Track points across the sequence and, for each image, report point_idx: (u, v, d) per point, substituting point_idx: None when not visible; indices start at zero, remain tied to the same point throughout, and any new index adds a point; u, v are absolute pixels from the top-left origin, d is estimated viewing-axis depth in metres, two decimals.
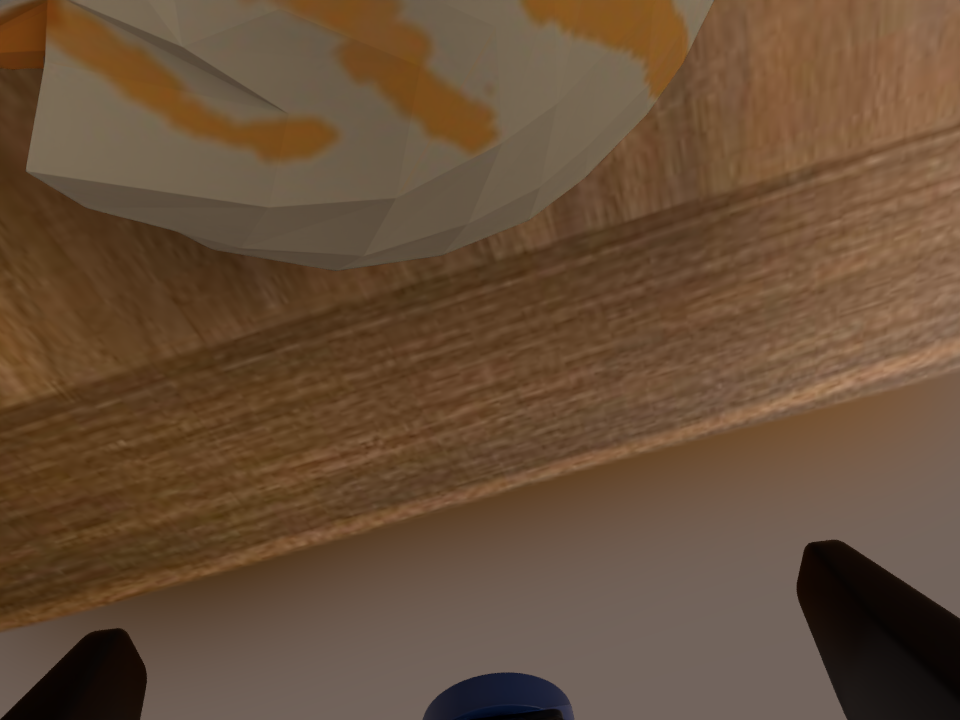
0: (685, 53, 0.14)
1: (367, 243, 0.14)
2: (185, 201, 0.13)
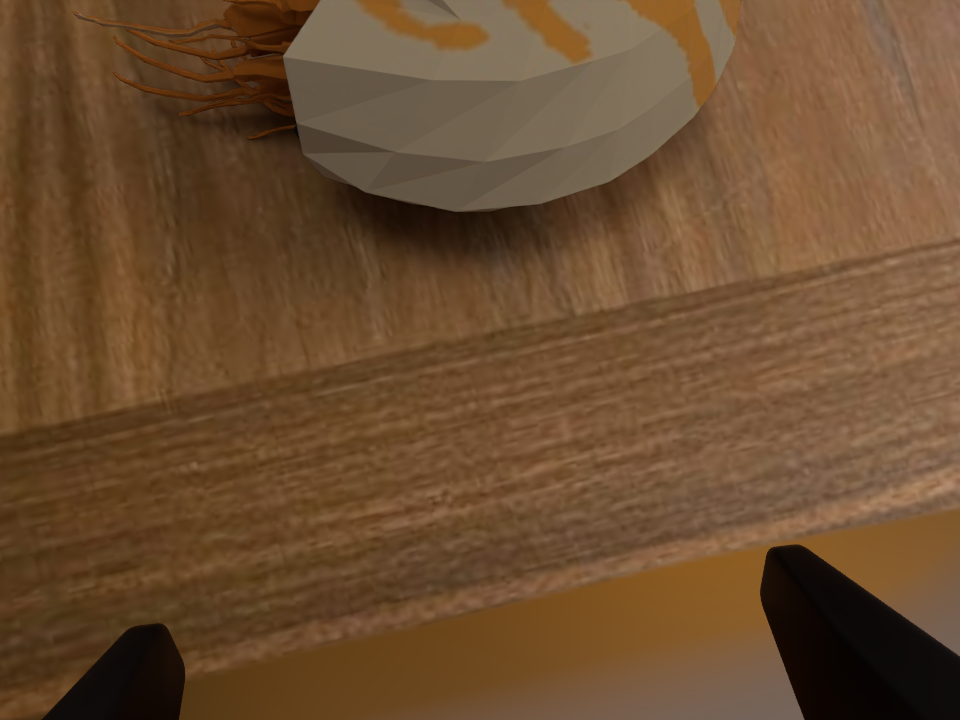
0: (714, 83, 0.21)
1: (490, 144, 0.19)
2: (375, 85, 0.19)
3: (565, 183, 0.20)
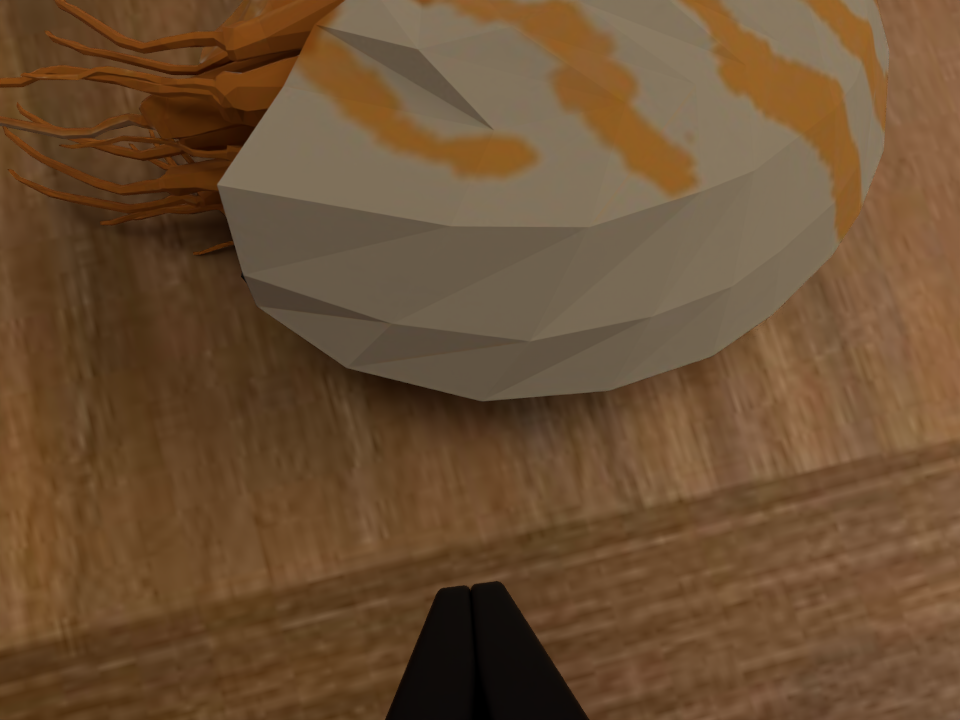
0: (860, 204, 0.14)
1: (539, 316, 0.12)
2: (361, 230, 0.12)
3: (647, 362, 0.13)
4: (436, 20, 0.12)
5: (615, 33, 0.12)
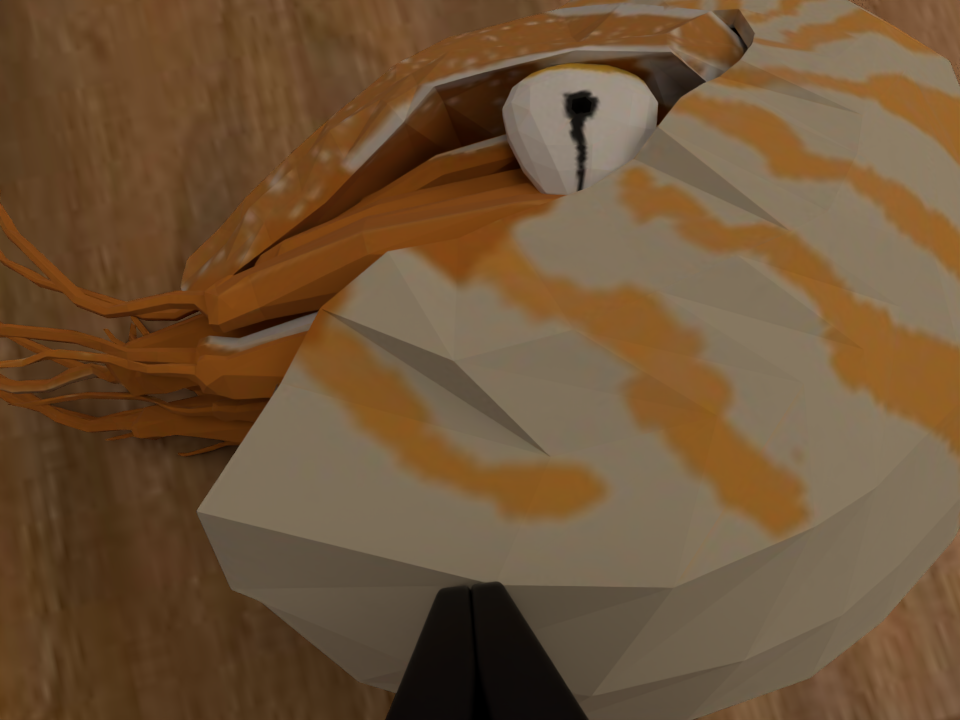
0: None
1: (603, 672, 0.10)
2: (379, 572, 0.09)
3: (732, 693, 0.11)
4: (476, 312, 0.09)
5: (704, 327, 0.09)
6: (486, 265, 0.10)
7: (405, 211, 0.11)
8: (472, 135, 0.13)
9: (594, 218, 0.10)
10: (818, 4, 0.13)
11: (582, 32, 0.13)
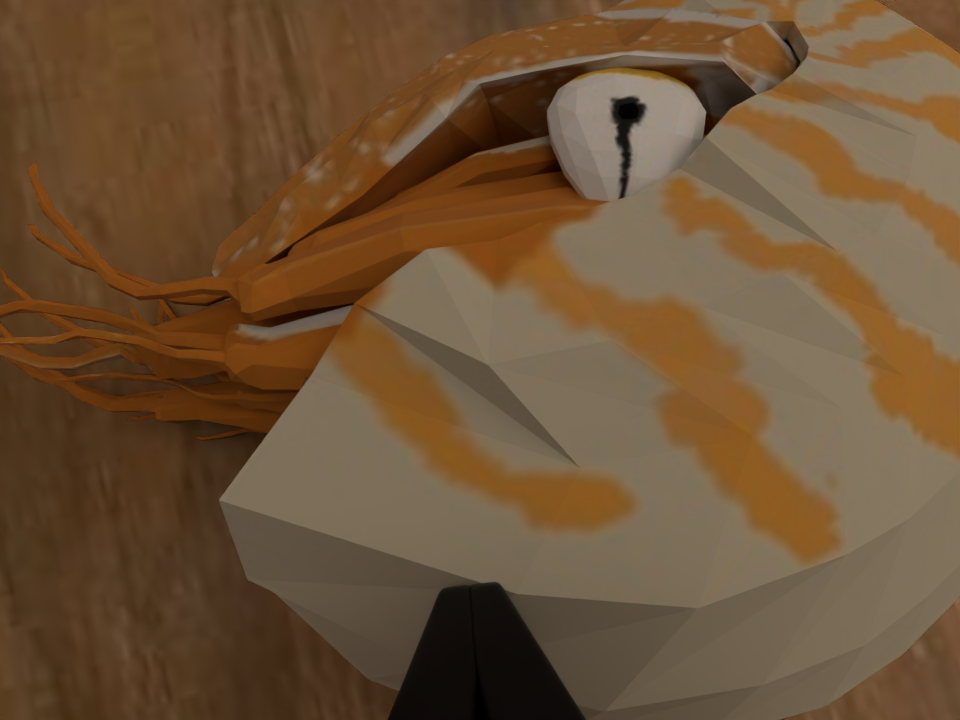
0: None
1: (619, 688, 0.10)
2: (398, 573, 0.09)
3: (746, 717, 0.11)
4: (512, 316, 0.09)
5: (744, 345, 0.09)
6: (525, 269, 0.09)
7: (443, 209, 0.11)
8: (512, 135, 0.13)
9: (637, 227, 0.10)
10: (874, 20, 0.12)
11: (631, 36, 0.13)
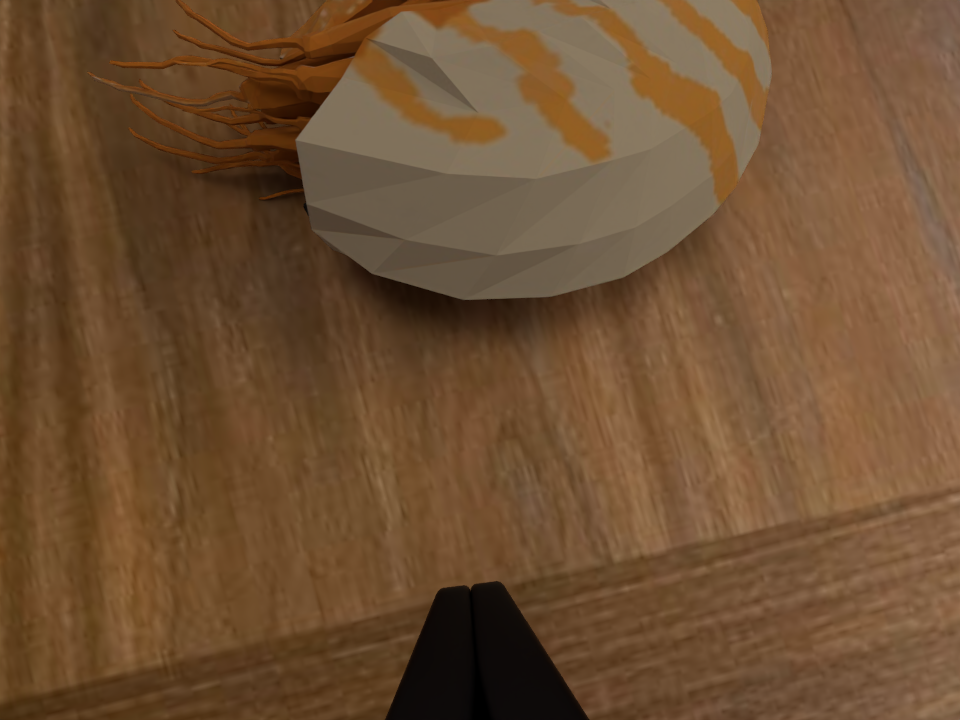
0: (737, 179, 0.21)
1: (502, 238, 0.19)
2: (388, 174, 0.18)
3: (577, 278, 0.20)
4: (445, 39, 0.18)
5: (561, 53, 0.18)
6: (452, 20, 0.18)
7: (412, 4, 0.20)
8: None
9: (512, 3, 0.19)
10: None
11: None
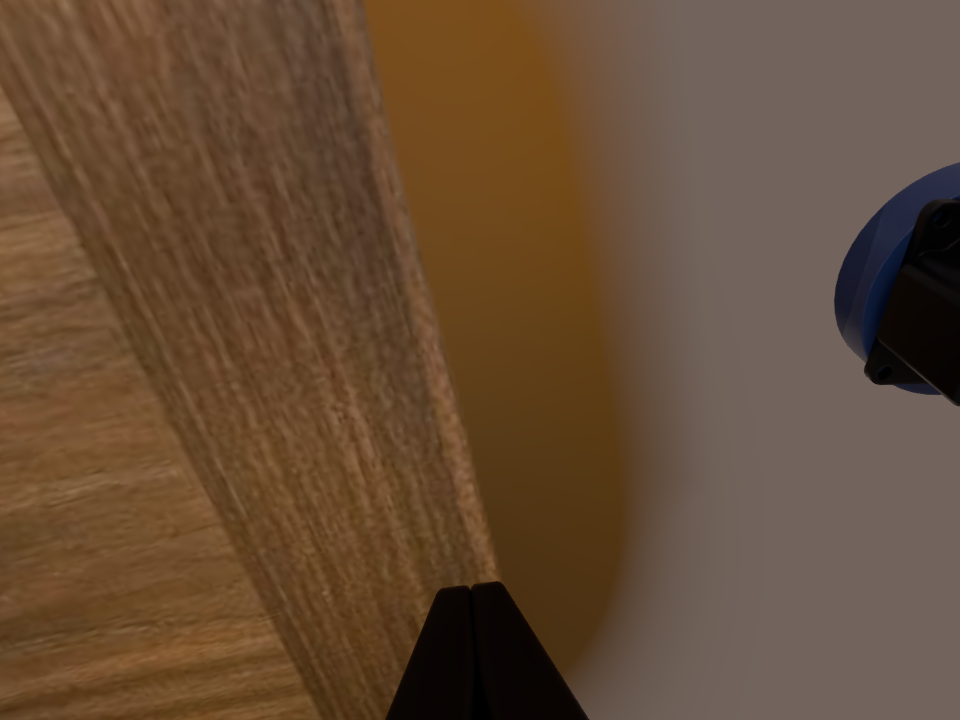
0: None
1: None
2: None
3: None
4: None
5: None
6: None
7: None
8: None
9: None
10: None
11: None
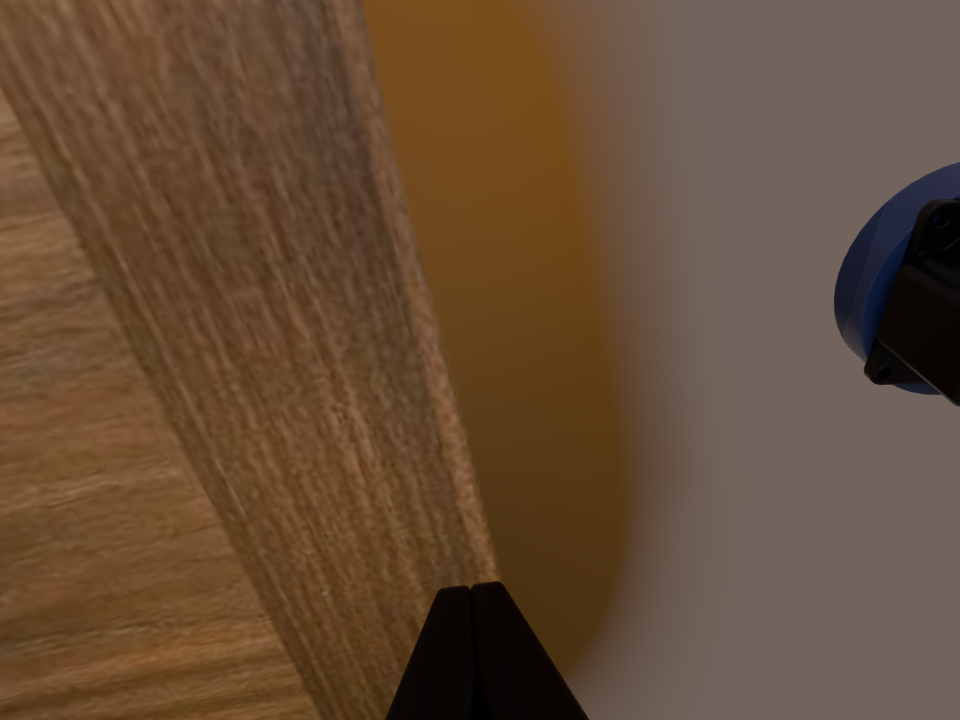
0: None
1: None
2: None
3: None
4: None
5: None
6: None
7: None
8: None
9: None
10: None
11: None
